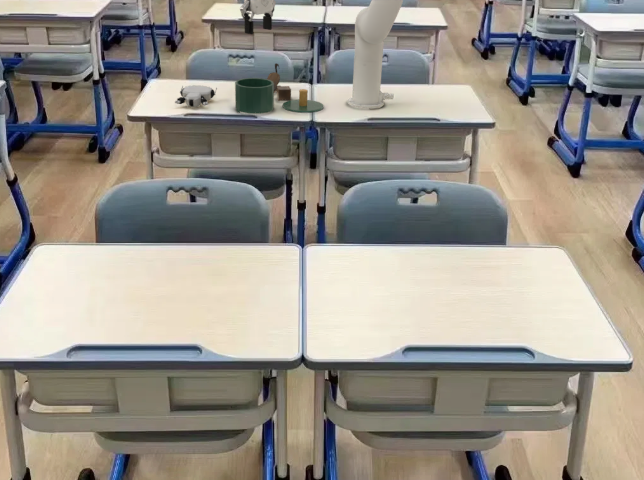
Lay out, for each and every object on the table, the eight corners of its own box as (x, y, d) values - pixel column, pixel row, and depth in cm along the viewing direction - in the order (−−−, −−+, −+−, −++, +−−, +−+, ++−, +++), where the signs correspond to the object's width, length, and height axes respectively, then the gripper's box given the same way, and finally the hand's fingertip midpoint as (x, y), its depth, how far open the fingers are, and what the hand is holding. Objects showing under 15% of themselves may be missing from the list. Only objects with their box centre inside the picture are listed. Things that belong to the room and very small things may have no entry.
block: (288, 98, 285) (289, 86, 283) (290, 102, 282) (291, 89, 279) (276, 98, 285) (276, 86, 282) (278, 102, 281) (278, 89, 279)
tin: (270, 104, 279) (270, 77, 274) (276, 114, 268) (276, 87, 263) (233, 105, 277) (233, 78, 272) (237, 115, 266) (237, 88, 261)
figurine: (273, 84, 301) (273, 60, 297) (284, 85, 300) (285, 61, 296) (261, 93, 290) (261, 69, 285) (273, 95, 289) (274, 70, 284)
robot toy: (209, 113, 270) (218, 97, 283) (208, 99, 268) (217, 85, 280) (173, 111, 271) (183, 96, 284) (172, 97, 269) (182, 83, 281)
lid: (319, 102, 282) (319, 84, 279) (327, 113, 270) (327, 95, 267) (279, 103, 280) (280, 85, 277) (286, 115, 268) (286, 96, 265)
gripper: (250, -21, 249) (250, 37, 258) (283, -27, 262) (283, 29, 270) (231, -24, 253) (232, 33, 262) (265, -29, 265) (265, 26, 274)
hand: (258, 31), depth 266 cm, fingers open, 9 cm apart
